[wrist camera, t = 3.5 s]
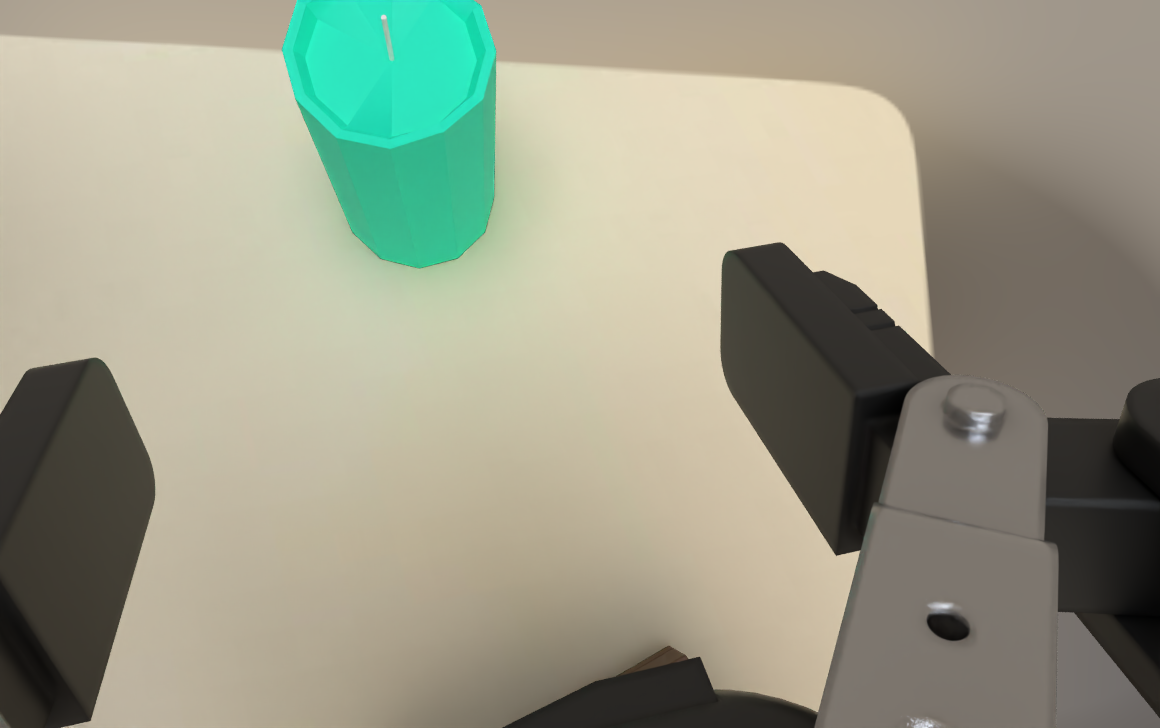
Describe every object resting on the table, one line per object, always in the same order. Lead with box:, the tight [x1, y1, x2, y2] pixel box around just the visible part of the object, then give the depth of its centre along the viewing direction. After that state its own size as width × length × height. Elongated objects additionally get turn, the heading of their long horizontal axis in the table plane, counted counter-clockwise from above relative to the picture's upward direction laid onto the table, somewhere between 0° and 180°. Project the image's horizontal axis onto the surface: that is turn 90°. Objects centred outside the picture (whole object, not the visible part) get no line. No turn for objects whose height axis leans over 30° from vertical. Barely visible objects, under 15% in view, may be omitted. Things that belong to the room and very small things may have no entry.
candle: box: [282, 0, 496, 268], centre depth 29 cm, size 6×6×12 cm
